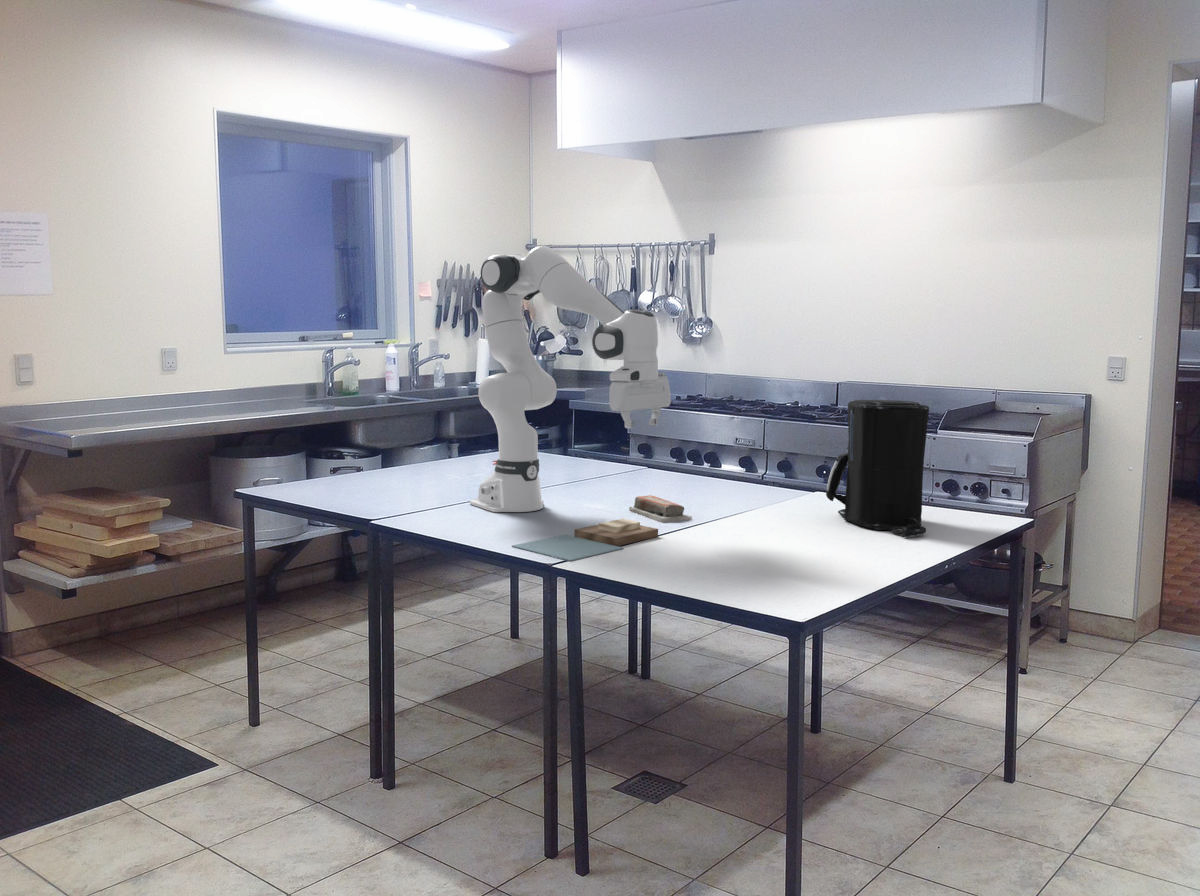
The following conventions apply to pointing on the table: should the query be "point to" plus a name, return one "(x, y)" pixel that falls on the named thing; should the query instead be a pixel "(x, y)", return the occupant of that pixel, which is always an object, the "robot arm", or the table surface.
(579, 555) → the rubber mat
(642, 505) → the packaged product
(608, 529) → the birch block
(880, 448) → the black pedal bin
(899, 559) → the table surface
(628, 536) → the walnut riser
